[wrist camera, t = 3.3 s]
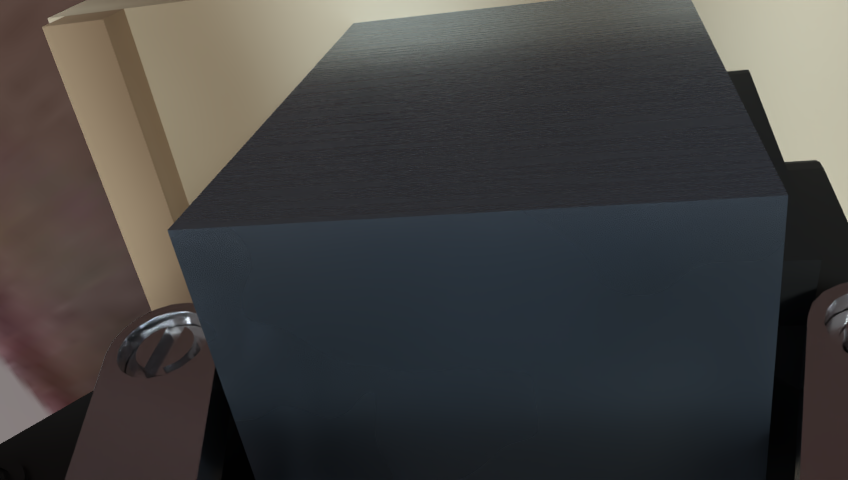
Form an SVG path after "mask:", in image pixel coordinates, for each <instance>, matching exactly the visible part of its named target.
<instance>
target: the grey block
mask: <svg viewBox="0 0 848 480" xmlns="http://www.w3.org/2000/svg"><path fill="white" fill-rule="evenodd" d="M787 205H788V194H787V192H786V190H785V188H784V186H783V184H782V182H781V180H780V178H779V176H778V173H777V171H776V169H775V167H774V165H773V163H772V161H771V159H770V157H769V155H768V153H767V151H766V149H765V147H764V145H763V143H762V141H761V139H760V137H759V135H758V133H757V131H756V129H755V127H754V125H753V123H752V121H751V119H750V117H749V115H748V113H747V111H746V109H745V107H744V105H743V103H742V101H741V99H740V97H739V95H738V93H737V91H736V89H735V87H734V85H733V83H732V81H731V79H730V77H729V75H728V73H727V71H726V69H725V67H724V65H723V63H722V61H721V59H720V57H719V55H718V53H717V51H716V49H715V46H714V44H713V42H712V40H711V38H710V36H709V34H708V32H707V30H706V28H705V26H704V24H703V22H702V20H701V18H700V16H699V14H698V12H697V10H696V8H695V6H694V4H693V2H692V0H553V1H545V2H536V3H527V4H518V5H509V6H501V7H492V8H483V9H474V10H466V11H457V12H448V13H439V14H430V15H422V16H413V17H404V18H395V19H386V20H378V21H369V22H360V23H353V24H352V25H351V27H350V28H349V29H348V30H347V31H346V32H345V33H344V34H343V35H342V37H341V38H340V39H339V40H338V41H337V42H336V43H335V44H334V45H333V47H332V48H331V49H330V50H329V51H328V52H327V53H326V54H325V55H324V57H323V58H322V59H321V60H320V61H319V62H318V63H317V64H316V66H315V67H314V68H313V69H312V70H311V71H310V72H309V73H308V74H307V76H306V77H305V78H304V79H303V80H302V81H301V82H300V83H299V84H298V86H297V87H296V88H295V89H294V90H293V91H292V92H291V93H290V94H289V96H288V97H287V98H286V99H285V100H284V101H283V102H282V103H281V104H280V106H279V107H278V108H277V109H276V110H275V111H274V112H273V113H272V114H271V116H270V117H269V118H268V119H267V120H266V121H265V122H264V123H263V124H262V126H261V127H260V128H259V129H258V130H257V131H256V132H255V133H254V134H253V136H252V137H251V138H250V139H249V140H248V141H247V142H246V143H245V144H244V146H243V147H242V148H241V149H240V150H239V151H238V152H237V153H236V154H235V156H234V157H233V158H232V159H231V160H230V161H229V162H228V163H227V164H226V166H225V167H224V168H223V169H222V170H221V171H220V172H219V173H218V174H217V176H216V177H215V178H214V179H213V180H212V181H211V182H210V183H209V184H208V186H207V187H206V188H205V189H204V190H203V191H202V192H201V193H200V194H199V196H198V197H197V198H196V199H195V200H194V201H193V202H192V203H191V204H190V206H189V207H188V208H187V209H186V210H185V211H184V212H183V213H182V215H181V216H180V217H179V218H178V219H177V220H176V221H175V222H174V223H173V225H172V226H171V227H170V228H169V229H168V230H167V231H168V234H169V237H170V239H171V242H172V245H173V248H174V251H175V254H176V256H177V259H178V262H179V265H180V268H181V271H182V273H183V276H184V279H185V282H186V285H187V288H188V290H189V293H190V296H191V299H192V302H193V305H194V307H195V310H196V313H197V316H198V319H199V321H200V324H201V327H202V330H203V333H204V336H205V338H206V341H207V344H208V347H209V350H210V353H211V355H212V358H213V361H214V364H215V367H216V370H217V372H218V375H219V378H220V381H221V384H222V387H223V389H224V392H225V395H226V398H227V401H228V403H229V406H230V409H231V412H232V415H233V418H234V420H235V423H236V426H237V429H238V432H239V435H240V437H241V440H242V443H243V446H244V449H245V452H246V454H247V457H248V460H249V463H250V466H251V469H252V471H253V474H254V477H255V480H766V470H767V457H768V445H769V432H770V420H771V407H772V394H773V382H774V369H775V357H776V344H777V331H778V319H779V306H780V294H781V281H782V268H783V256H784V243H785V230H786V218H787Z"/></svg>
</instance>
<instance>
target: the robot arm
mask: <svg viewBox="0 0 848 480" xmlns="http://www.w3.org/2000/svg"><path fill="white" fill-rule="evenodd" d="M727 73H728V75H729V77H730V79H731V81H732V83H733V85H734V87H735V89H736V91H737V93H738V95H739V97H740V99H741V101H742V103H743V105H744V107H745V109H746V111H747V113H748V115H749V117H750V119H751V121H752V123H753V125H754V127H755V129H756V131H757V133H758V135H759V137H760V139H761V141H762V143H763V145H764V147H765V149H766V151H767V153H768V155H769V157H770V159H771V161H772V163H773V165H774V167H775V169H776V171H777V173H778V176H779V178H780V180H781V182H782V184H783V186H784V188H785V190H786V192H787V194H788V205H787V218H786V230H785V243H784V256H783V268H782V281H781V294H780V306H779V319H778V331H777V344H776V357H775V369H774V382H773V394H772V407H771V420H770V432H769V445H768V457H767V470H766V480H848V221H847V219H846V216H845V214H844V212H843V210H842V208H841V205H840V203H839V201H838V199H837V196H836V194H835V192H834V190H833V188H832V185H831V183H830V181H829V179H828V176H827V174H826V172H825V170H824V168H823V166H822V165H821V163H820V162H819V161H817V160H808V161H793V162H784V160H783V157H782V154H781V152H780V149H779V147H778V144H777V141H776V139H775V136H774V134H773V131H772V128H771V126H770V123H769V121H768V118H767V115H766V113H765V110H764V108H763V105H762V102H761V100H760V97H759V95H758V92H757V89H756V87H755V84H754V82H753V79H752V76H751V74H750V72H749V70H737V71H727ZM0 480H255V477H254V474H253V471H252V469H251V466H250V463H249V460H248V457H247V454H246V452H245V449H244V446H243V443H242V440H241V437H240V435H239V432H238V429H237V426H236V423H235V420H234V418H233V415H232V412H231V409H230V406H229V403H228V401H227V398H226V395H225V392H224V389H223V387H222V384H221V381H220V378H219V375H218V372H217V370H216V367H215V364H214V361H213V358H212V355H211V353H210V350H209V347H208V344H207V341H206V338H205V336H204V333H203V330H202V327H201V324H200V321H199V319H198V316H197V313H196V310H195V307H194V305H193V303H180V304H172V305H168V306H165V307H162V308H158V309H155V310H153V311H151V312H149V313H147V314H145V315H143V316H141V317H139V318H138V319H136V320H135V321H134V322H132V323H131V324H129V325H128V326H127V327H125V328H124V329H123V330H122V331H121V332H120V333H119V335H118V336H117V337H116V338H115V339H114V340H113V341H112V343H111V345H110V347H109V349H108V351H107V353H106V355H105V358H104V361H103V364H102V367H101V370H100V373H99V376H98V379H97V382H96V385H95V388H94V391H92V392H90V393H89V394H87V395H85V396H83V397H82V398H80V399H78V400H76V401H75V402H73V403H71V404H69V405H68V406H66V407H64V408H62V409H61V410H59V411H57V412H55V413H54V414H52V415H50V416H48V417H47V418H45V419H43V420H42V421H40V422H38V423H36V424H35V425H33V426H31V427H30V428H28V429H26V430H24V431H22V432H21V433H19V434H17V435H15V436H14V437H12V438H10V439H8V440H7V441H5V442H3V443H1V444H0Z"/></svg>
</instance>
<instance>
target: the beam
mask: <svg viewBox="0 0 848 480" xmlns="http://www.w3.org/2000/svg"><path fill="white" fill-rule="evenodd" d="M545 1H553V0H86V1H84V2H82V3H80V4H78V5H75V6H73V7H71V8H69V9H67V10H65V11H62V12H60V13H58V14H56V15H54V16H52V17H49V18H48V21H49V24H47V25H45V26H43V27H42V29H43V31H44V34H45V36H46V39H47V41H48V44H49V47H50V49H51V52H52V54H53V57H54V60H55V62H56V65H57V67H58V70H59V73H60V75H61V78H62V80H63V83H64V85H65V88H66V91H67V93H68V96H69V98H70V101H71V104H72V106H73V109H74V111H75V114H76V117H77V119H78V122H79V124H80V127H81V129H82V132H83V135H84V137H85V140H86V142H87V145H88V148H89V150H90V153H91V155H92V158H93V161H94V163H95V166H96V168H97V171H98V173H99V176H100V179H101V181H102V184H103V186H104V189H105V192H106V194H107V197H108V199H109V202H110V205H111V207H112V210H113V212H114V215H115V217H116V220H117V223H118V225H119V228H120V230H121V233H122V236H123V238H124V241H125V243H126V246H127V249H128V251H129V254H130V256H131V259H132V261H133V264H134V267H135V269H136V272H137V274H138V277H139V280H140V282H141V285H142V287H143V290H144V293H145V295H146V298H147V300H148V303H149V305H150V308H151V311H153V310H155V309H158V308H162V307H165V306H168V305H172V304H180V303H193V302H192V299H191V296H190V293H189V290H188V288H187V285H186V282H185V279H184V276H183V273H182V271H181V268H180V265H179V262H178V259H177V256H176V254H175V251H174V248H173V245H172V242H171V239H170V237H169V234H168V231H167V230H168V229H169V228H170V227H171V226H172V225H173V223H174V222H175V221H176V220H177V219H178V218H179V217H180V216H181V215H182V213H183V212H184V211H185V210H186V209H187V208H188V207H189V206H190V204H191V203H192V202H193V201H194V200H195V199H196V198H197V197H198V196H199V194H200V193H201V192H202V191H203V190H204V189H205V188H206V187H207V186H208V184H209V183H210V182H211V181H212V180H213V179H214V178H215V177H216V176H217V174H218V173H219V172H220V171H221V170H222V169H223V168H224V167H225V166H226V164H227V163H228V162H229V161H230V160H231V159H232V158H233V157H234V156H235V154H236V153H237V152H238V151H239V150H240V149H241V148H242V147H243V146H244V144H245V143H246V142H247V141H248V140H249V139H250V138H251V137H252V136H253V134H254V133H255V132H256V131H257V130H258V129H259V128H260V127H261V126H262V124H263V123H264V122H265V121H266V120H267V119H268V118H269V117H270V116H271V114H272V113H273V112H274V111H275V110H276V109H277V108H278V107H279V106H280V104H281V103H282V102H283V101H284V100H285V99H286V98H287V97H288V96H289V94H290V93H291V92H292V91H293V90H294V89H295V88H296V87H297V86H298V84H299V83H300V82H301V81H302V80H303V79H304V78H305V77H306V76H307V74H308V73H309V72H310V71H311V70H312V69H313V68H314V67H315V66H316V64H317V63H318V62H319V61H320V60H321V59H322V58H323V57H324V55H325V54H326V53H327V52H328V51H329V50H330V49H331V48H332V47H333V45H334V44H335V43H336V42H337V41H338V40H339V39H340V38H341V37H342V35H343V34H344V33H345V32H346V31H347V30H348V29H349V28H350V27H351V25H352V24H353V23H360V22H369V21H378V20H386V19H395V18H404V17H413V16H422V15H430V14H439V13H448V12H457V11H466V10H474V9H483V8H492V7H501V6H509V5H518V4H527V3H536V2H545ZM692 2H693V4H694V6H695V8H696V10H697V12H698V14H699V16H700V18H701V20H702V22H703V24H704V26H705V28H706V30H707V32H708V34H709V36H710V38H711V40H712V42H713V44H714V46H715V49H716V51H717V53H718V55H719V57H720V59H721V61H722V63H723V65H724V67H725V69H726V71H737V70H749V72H750V74H751V76H752V79H753V82H754V84H755V87H756V89H757V92H758V95H759V97H760V100H761V102H762V105H763V108H764V110H765V113H766V115H767V118H768V121H769V123H770V126H771V128H772V131H773V134H774V136H775V139H776V141H777V144H778V147H779V149H780V152H781V154H782V157H783V160H784V162H793V161H808V160H817V161H819V162H820V163H821V165H822V166H823V168H824V170H825V172H826V174H827V176H828V179H829V181H830V183H831V185H832V188H833V190H834V192H835V194H836V196H837V199H838V201H839V203H840V205H841V208H842V210H843V212H844V214H845V216H846V219H847V221H848V0H692Z"/></svg>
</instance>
